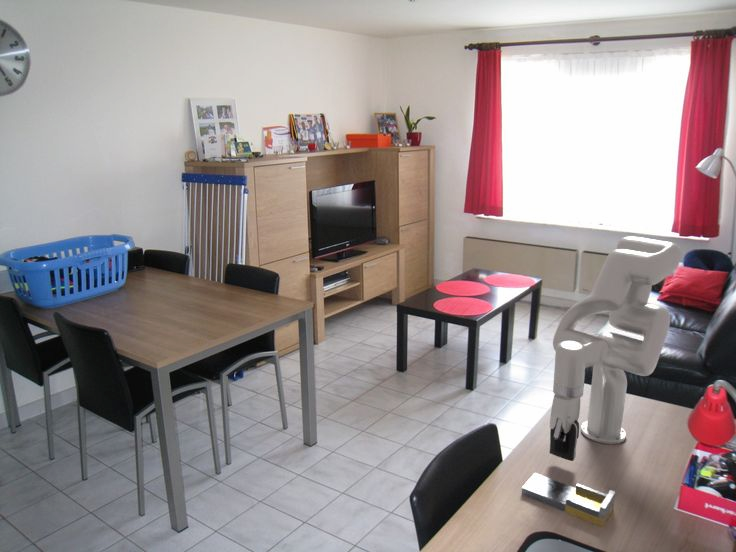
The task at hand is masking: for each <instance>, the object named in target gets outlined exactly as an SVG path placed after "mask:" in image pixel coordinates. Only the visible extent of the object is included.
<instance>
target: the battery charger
mask: <svg viewBox="0 0 736 552" xmlns="http://www.w3.org/2000/svg"><path fill="white" fill-rule="evenodd" d="M555 429H556V426H555V428H554V429H550V434H549V440H550V442H549V454H550V455H553V456H556V457H558V458H560V459H564V460H567V461H571V462H573V461H575V459H576V453H577V452H576V451H577V449H576V448H577V445H578V444H577V443H578V439H579V437H580V422H579V421H578V420H575V421H574V422H573V424H572V426H571V430H570V431H569V432H568V433H567V441H568V446H567V453H566V454H562V453H559V452H556V451H555V437H554V433H555ZM562 429H563V428H562ZM561 434H562V435H563V436H564V433H563V432H561Z"/></svg>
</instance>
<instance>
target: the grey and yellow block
mask: <svg viewBox="0 0 736 552" xmlns="http://www.w3.org/2000/svg"><path fill="white" fill-rule="evenodd" d="M521 495H522V496H525V497H527V498H530V499H532V500H534V501H537V502H540V503H542V504H544V505H546V506H547V505H548V506H549V507H551V508H555V509H557V510H559V511H562V512H564V513H567V514H569V515H572V516H574V517H576V518H578V519H581V520H584V521H587V522H589V523H592V524H594V525H596V526H599V527H602V528H603V527H604V526H605V524H606V522H607V521H608V520H609V517H610V516H611V513H612V512H613V511H614V506H615V499H616V491H614V490H612V489H610V490H609V491H608V493H604V492H602V491H599V490H596V489H593V488H591V487H589V486H586V485H583V484H580V483H576V485H575V486H571V485H568V484H565V483H563V482H561V481H558V480H554V479H553V478H549V477H547V476H544V475H542V474H539V473H537V472H534V473H533V474H532V475H531V477H530V478H529V479H528V480H527V481H526V482H525V484H524V485H523V486H522V487H521Z"/></svg>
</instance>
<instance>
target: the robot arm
mask: <svg viewBox="0 0 736 552" xmlns="http://www.w3.org/2000/svg"><path fill="white" fill-rule="evenodd" d="M681 260H682V250H681V247H680V246H679V245H678V244H677V243H675V242H671V241H667V240H666V241H665V240H660V239H652V238H647V237H642V236H641V237H640V236H624V237H622V238H620V239H619V241H617V244H616V248H615V249H613V250H612V251H610V252H609V254H608V255H607V257H606V259H605V261H604V263H603V265H602V268H601V270H600V272H599V275H598V277H597V279H596V281H595V283H594V285H593V288H592V290H591V293H590V294H589V295H588V296H587V297H584V298H582V299H581V300H579V301H578V302H576V303H574V305H572V306H570V307H569V308H568V309H567V310H566V311H565V313H564V314H563V315H562V317H561V320H560V321H559V324H558V326H557V328H556V331H555V333H554V336H553V340H552V347H553V349H554V351H555V355H554V369H553V370H554V371H553V372H554V373H553V389H552V392H553V394H554V396H553V399H552V403H551V411H550V418H549V419H550V420H549V429H550V430H551V429H554V428H555V426H556V429H555V433H554V437H555V451H556V452H559V453H562V454H566V453H567V446H568V441H567V433H568V432H569V431H570V430H571V426H572V424H573V422H574V421H575V420H577V421H578V420H579V418H580V412H581V411H580V410H581V399H582V397H583V396H584V389H585V387H584V386H585V378H586V377H585V376H586V369H587V368H592V376H591V377H592V378H591V385H590V386H591V387H590V396H589V403H588V412H587V420H586V421H584V422H582V423H581V425H580V431H581V433H582V434H583V435H584V436H585V437H586V438H588V439H589V440H592V441H594V442H597V443H601V444H604V445H605V444H606V445H607V444H608V445H615V444H621V443H623V442H624V441H625V440H626V439H627V433H626V431H625V429H624V428H623V426H622V425H623V424H622V423H623V417H624V412H625V411H624V409H625V402H626V395H627V387H628V379H627V376H626V372H628V373H631V374H634V375H638V376H641V377H647V376H650V375H652V374H653V373H654V372H655V369H656V367H657V364H658V362H659V359H660V355H661V353H662V350H663V347H664V345H665V341H666V338H667V335H668V332H669V329H670V325H671V316H670V315H671V314H670V312H669V310H668V309H667V308H665V307H664V306H661V305H660V304H659V305H658V304H655V303H649V302H648V301H649V299H650V294H651V292H652V286H654V285H657V284H659V283H660V282H662V281H663V280H664V279H665V278H667V277H668V276H670V274H672V273H673V272H675V270H676V269H677V268H678V267H679V266H680V263H681ZM603 313H609V315H608V316H609V317H608V322H609V324H610V326H612V327H613V328H614V329H617V330H619V331H622V332H626V333H630V334H634V335H637V336H642V338H643V340H641V339H637V338H634V337H630V336H627V335H624V334H621V333H620V334H619V333H616V332H611V331H604V332H599V333H598V334H597V335H593V334H589V333H586V332H584V331H579V330H576V329H575V328H576V327H577V325H578V324H579V323H580V322H581V321H583V320H584V319H586V318H588V317H590V316H594V315H598V314H603ZM562 428H563V429H562ZM561 432H563V433H564V436H563V435H562V434H561Z"/></svg>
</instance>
